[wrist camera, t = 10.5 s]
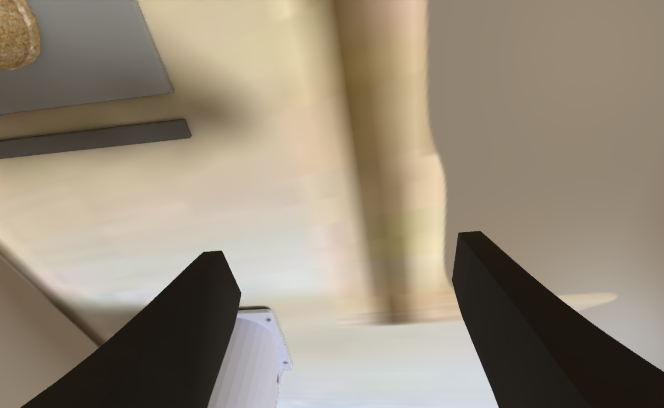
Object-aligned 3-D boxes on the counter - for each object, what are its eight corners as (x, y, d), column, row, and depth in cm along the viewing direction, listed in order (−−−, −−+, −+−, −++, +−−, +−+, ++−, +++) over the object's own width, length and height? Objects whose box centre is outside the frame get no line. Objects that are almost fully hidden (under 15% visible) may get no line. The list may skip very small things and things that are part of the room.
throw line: (191, 136, 17) (189, 138, 17) (-24, 159, 19) (-30, 161, 18) (184, 118, 17) (182, 120, 17) (-38, 144, 18) (-43, 146, 18)
